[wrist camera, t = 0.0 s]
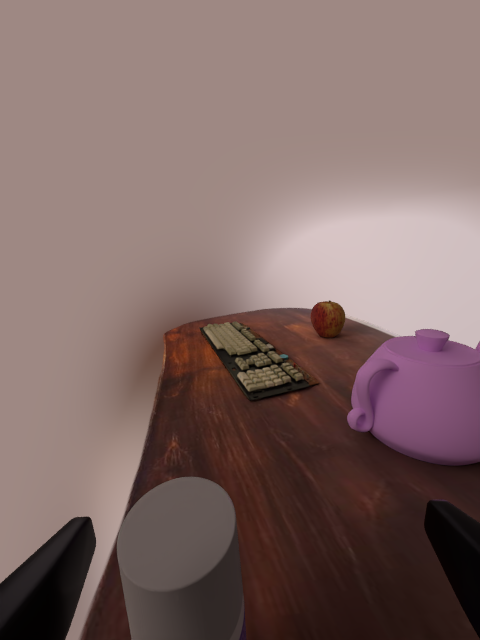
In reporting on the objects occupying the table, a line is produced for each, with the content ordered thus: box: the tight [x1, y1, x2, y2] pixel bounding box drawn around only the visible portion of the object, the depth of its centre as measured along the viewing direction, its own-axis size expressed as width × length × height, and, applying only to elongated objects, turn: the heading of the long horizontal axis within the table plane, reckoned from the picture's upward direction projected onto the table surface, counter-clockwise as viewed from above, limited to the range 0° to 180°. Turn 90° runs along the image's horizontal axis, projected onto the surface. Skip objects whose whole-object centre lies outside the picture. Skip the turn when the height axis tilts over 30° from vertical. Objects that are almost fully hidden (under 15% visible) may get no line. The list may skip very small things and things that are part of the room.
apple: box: [311, 301, 345, 338], centre depth 76 cm, size 9×9×10 cm
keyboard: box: [199, 322, 319, 401], centre depth 68 cm, size 45×15×2 cm, turn 18°
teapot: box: [347, 329, 480, 466], centre depth 37 cm, size 25×18×14 cm
